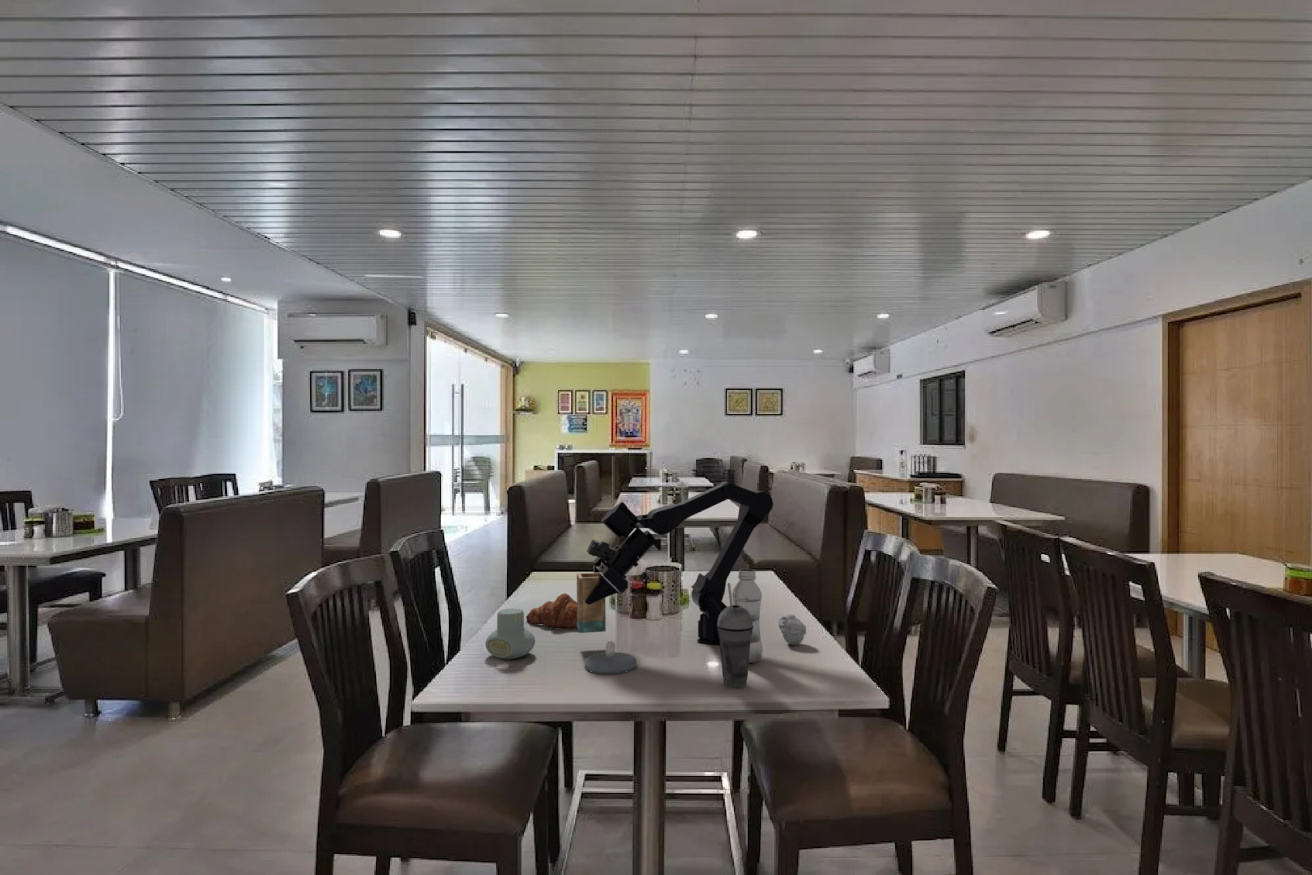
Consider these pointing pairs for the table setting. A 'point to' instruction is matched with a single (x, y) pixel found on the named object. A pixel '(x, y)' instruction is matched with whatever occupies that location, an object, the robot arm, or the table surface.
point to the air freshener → (510, 636)
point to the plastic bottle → (750, 608)
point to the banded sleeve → (592, 614)
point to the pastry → (556, 613)
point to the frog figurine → (792, 629)
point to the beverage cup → (735, 644)
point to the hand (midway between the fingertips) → (584, 600)
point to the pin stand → (610, 661)
